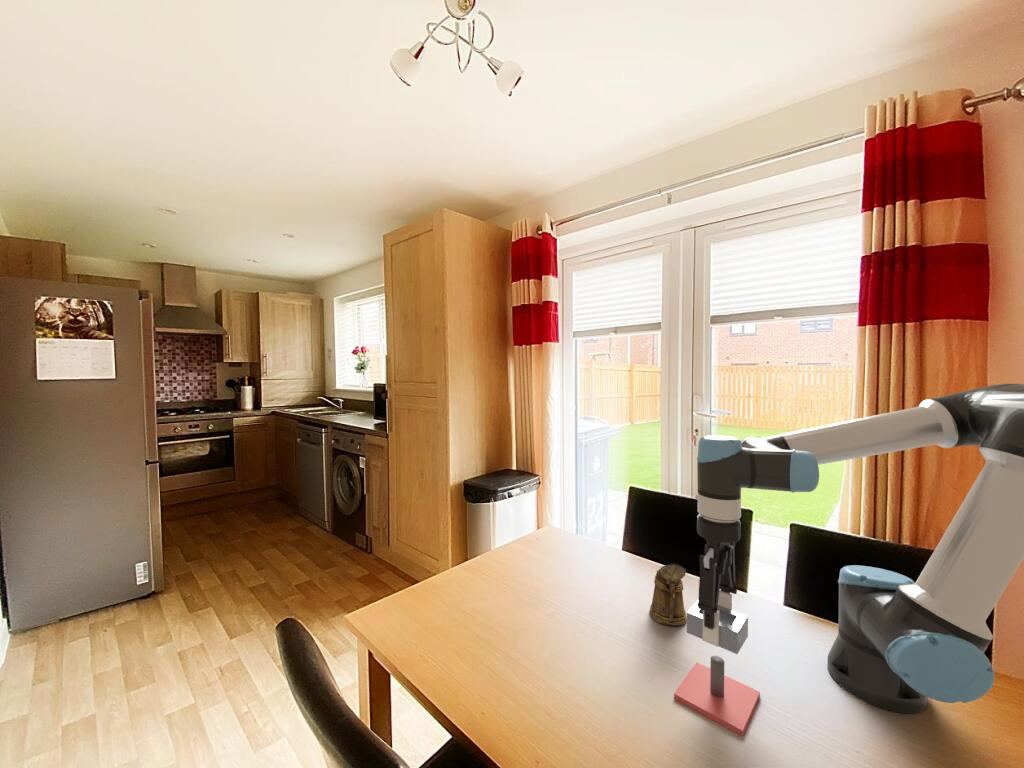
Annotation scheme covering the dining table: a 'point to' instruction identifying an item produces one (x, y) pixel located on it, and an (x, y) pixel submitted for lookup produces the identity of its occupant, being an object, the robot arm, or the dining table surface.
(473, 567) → the dining table surface
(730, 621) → the link
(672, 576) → the wooden mug
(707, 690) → the stand
